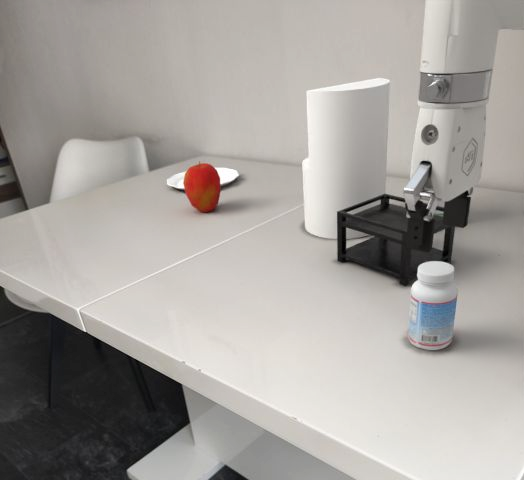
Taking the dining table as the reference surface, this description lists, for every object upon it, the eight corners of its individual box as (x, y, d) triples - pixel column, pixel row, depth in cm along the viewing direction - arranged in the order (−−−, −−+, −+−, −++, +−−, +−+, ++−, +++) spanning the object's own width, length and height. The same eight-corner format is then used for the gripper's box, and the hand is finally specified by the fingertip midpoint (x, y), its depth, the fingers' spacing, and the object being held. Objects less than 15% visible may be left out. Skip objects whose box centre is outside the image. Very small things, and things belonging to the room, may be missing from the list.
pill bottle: (460, 338, 77) (469, 265, 71) (437, 356, 73) (445, 282, 67) (422, 325, 80) (428, 255, 74) (399, 342, 77) (403, 270, 71)
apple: (197, 203, 140) (189, 156, 133) (229, 204, 137) (223, 156, 131) (182, 216, 133) (173, 166, 126) (215, 217, 130) (209, 166, 123)
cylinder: (401, 225, 115) (409, 80, 100) (335, 245, 109) (333, 94, 94) (351, 206, 128) (352, 75, 113) (290, 223, 122) (282, 87, 107)
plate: (155, 193, 151) (153, 187, 150) (186, 172, 168) (185, 167, 167) (223, 194, 145) (222, 188, 144) (249, 173, 161) (248, 167, 160)
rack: (451, 262, 98) (457, 210, 93) (404, 286, 91) (408, 231, 86) (383, 241, 109) (384, 193, 103) (337, 261, 102) (336, 211, 97)
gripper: (450, 103, 52) (432, 267, 61) (517, 78, 62) (493, 222, 71) (382, 100, 56) (375, 253, 65) (455, 77, 67) (440, 212, 76)
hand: (437, 237), depth 68 cm, fingers open, 9 cm apart
